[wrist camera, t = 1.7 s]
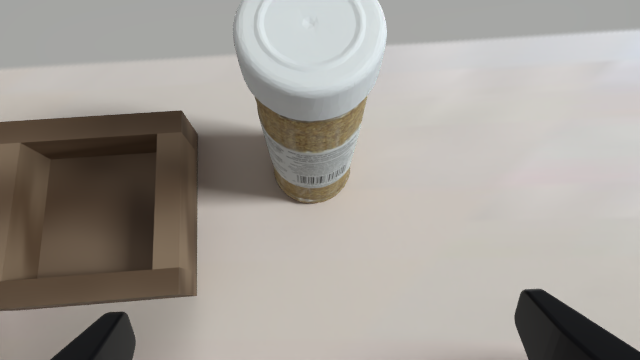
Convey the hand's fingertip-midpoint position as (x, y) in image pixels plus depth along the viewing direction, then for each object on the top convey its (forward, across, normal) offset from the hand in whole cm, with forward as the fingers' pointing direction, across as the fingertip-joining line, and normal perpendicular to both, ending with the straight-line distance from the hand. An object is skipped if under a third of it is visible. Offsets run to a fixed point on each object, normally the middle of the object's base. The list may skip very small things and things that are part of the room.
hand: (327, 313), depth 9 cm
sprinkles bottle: (+15, 0, +4) cm, 16 cm away
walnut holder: (+14, +11, +6) cm, 19 cm away
